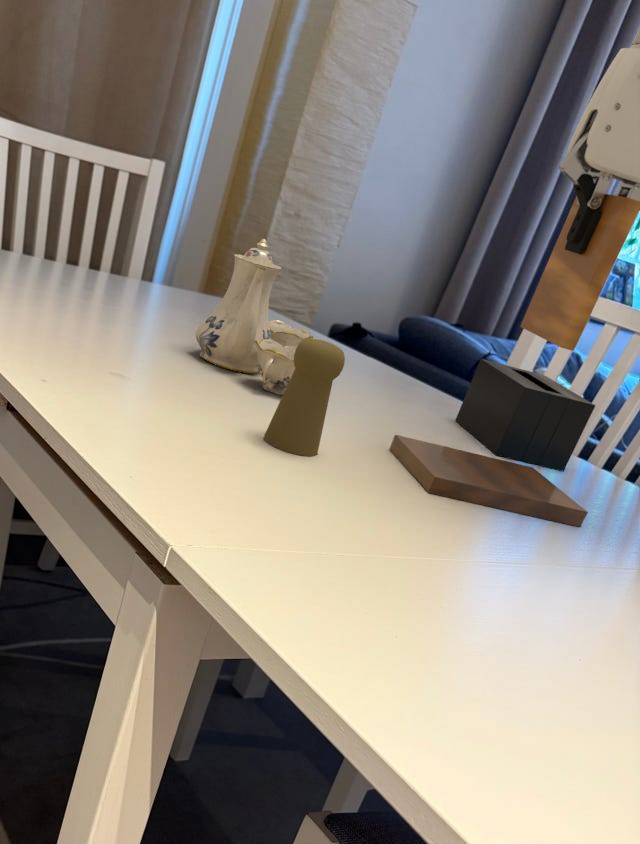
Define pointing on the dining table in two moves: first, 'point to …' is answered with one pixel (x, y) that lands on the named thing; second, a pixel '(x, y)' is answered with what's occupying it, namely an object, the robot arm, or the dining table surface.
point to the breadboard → (486, 481)
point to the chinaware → (251, 325)
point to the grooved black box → (523, 415)
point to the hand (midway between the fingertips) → (583, 253)
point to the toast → (578, 275)
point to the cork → (306, 398)
